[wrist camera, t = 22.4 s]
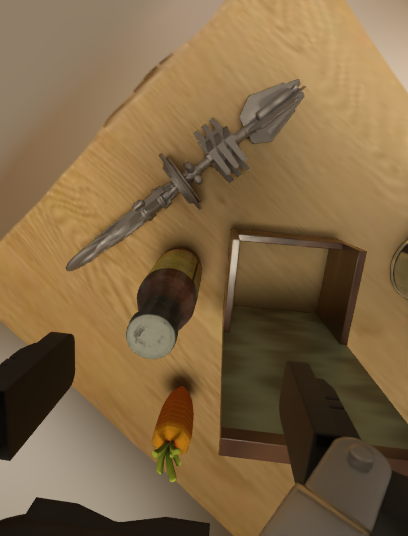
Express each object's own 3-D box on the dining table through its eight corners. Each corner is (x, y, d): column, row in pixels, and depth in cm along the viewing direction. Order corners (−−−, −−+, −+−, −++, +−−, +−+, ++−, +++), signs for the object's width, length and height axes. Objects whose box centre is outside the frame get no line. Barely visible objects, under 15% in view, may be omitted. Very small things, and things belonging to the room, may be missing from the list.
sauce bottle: (150, 259, 43) (90, 314, 24) (189, 238, 42) (159, 279, 23) (173, 298, 45) (134, 381, 25) (211, 279, 44) (200, 351, 24)
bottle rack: (337, 238, 41) (497, 308, 17) (321, 321, 44) (438, 482, 20) (231, 228, 42) (238, 282, 17) (222, 311, 45) (218, 455, 20)
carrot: (164, 374, 48) (137, 455, 33) (196, 372, 47) (183, 452, 33) (169, 402, 49) (146, 492, 34) (200, 400, 48) (190, 490, 34)
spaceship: (29, 239, 36) (61, 296, 34) (280, 35, 32) (331, 86, 30) (72, 251, 43) (100, 298, 41) (279, 88, 40) (319, 131, 38)
